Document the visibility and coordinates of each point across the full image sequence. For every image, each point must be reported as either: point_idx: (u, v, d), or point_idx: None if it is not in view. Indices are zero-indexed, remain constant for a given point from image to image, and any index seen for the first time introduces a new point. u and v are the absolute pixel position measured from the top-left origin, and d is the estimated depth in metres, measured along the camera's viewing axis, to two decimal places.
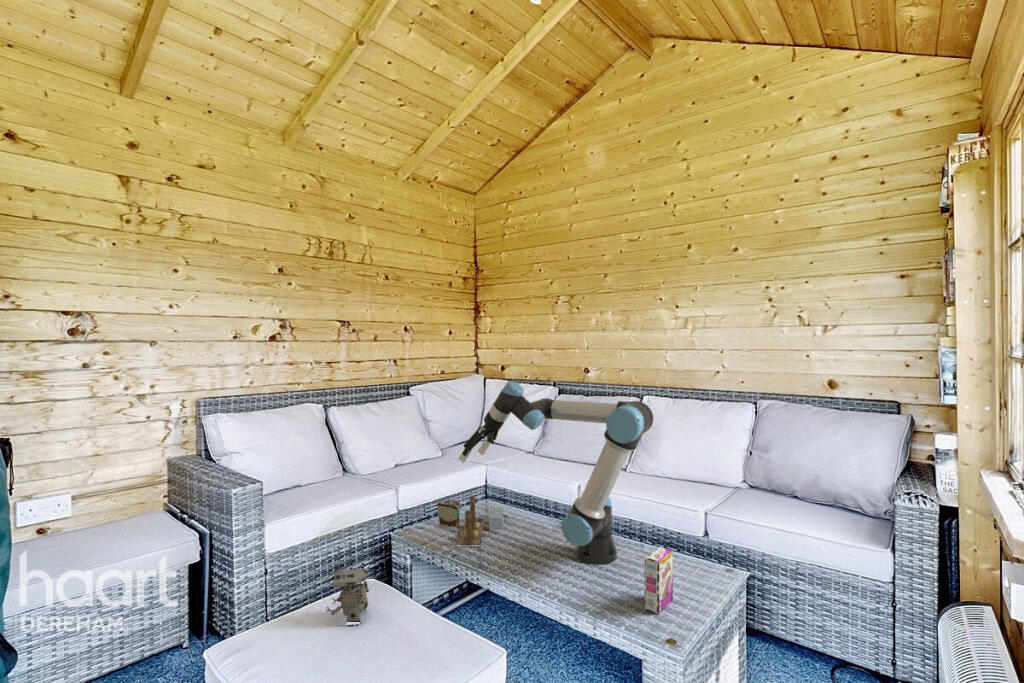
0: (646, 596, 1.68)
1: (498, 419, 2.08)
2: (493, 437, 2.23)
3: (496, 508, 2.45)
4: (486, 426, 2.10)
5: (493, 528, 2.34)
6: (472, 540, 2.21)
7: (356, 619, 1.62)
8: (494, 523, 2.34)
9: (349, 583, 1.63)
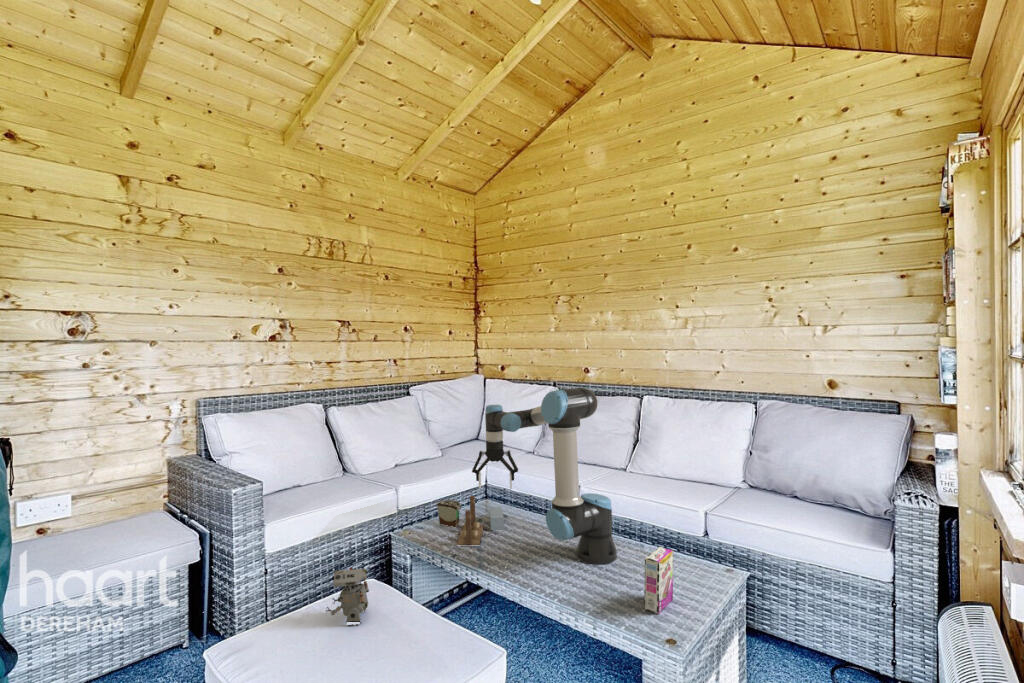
0: (646, 596, 1.68)
1: (487, 438, 2.36)
2: None
3: (495, 508, 2.45)
4: (486, 449, 2.39)
5: (495, 528, 2.34)
6: (472, 540, 2.21)
7: (356, 619, 1.62)
8: (496, 522, 2.34)
9: (349, 583, 1.63)
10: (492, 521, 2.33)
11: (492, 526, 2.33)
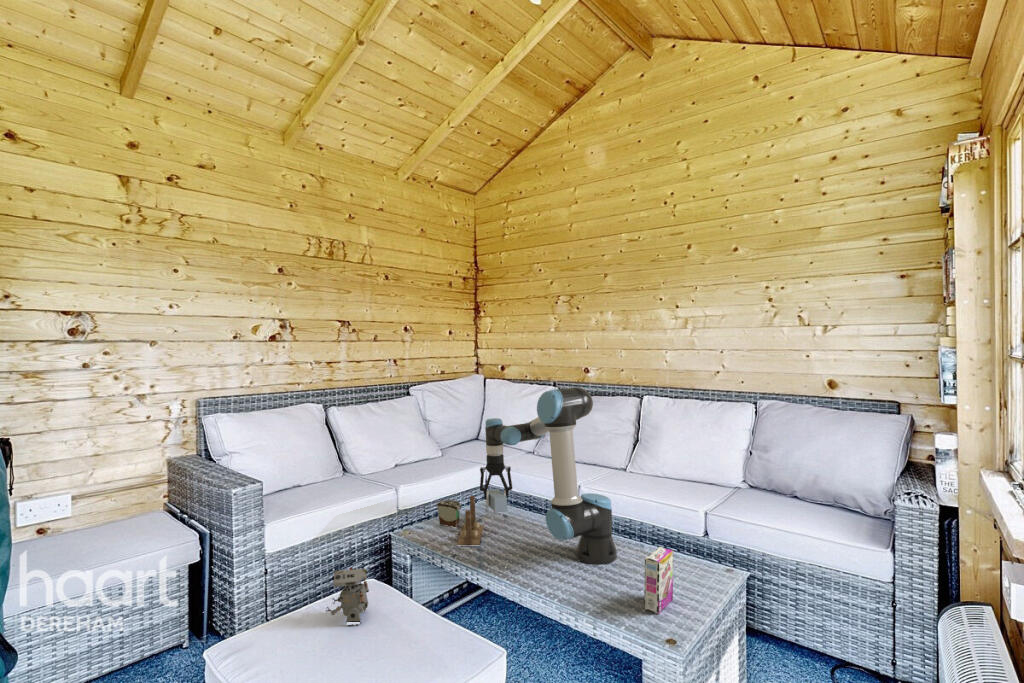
0: (646, 596, 1.68)
1: (487, 452, 2.37)
2: None
3: (492, 490, 2.44)
4: None
5: (498, 508, 2.33)
6: (472, 540, 2.21)
7: (356, 619, 1.62)
8: (500, 503, 2.33)
9: (349, 583, 1.63)
10: (496, 501, 2.33)
11: (496, 507, 2.33)
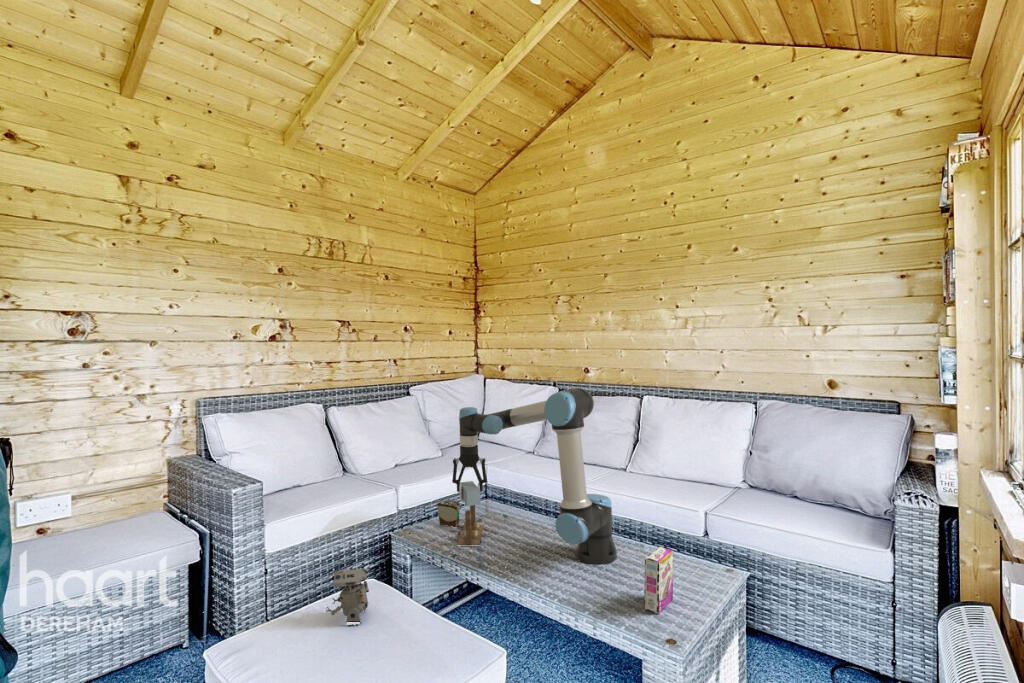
0: (646, 596, 1.68)
1: (461, 443, 2.24)
2: None
3: (466, 482, 2.32)
4: (460, 454, 2.27)
5: (471, 502, 2.21)
6: (472, 540, 2.21)
7: (356, 619, 1.62)
8: (473, 496, 2.21)
9: (349, 583, 1.63)
10: (468, 495, 2.21)
11: (468, 500, 2.21)
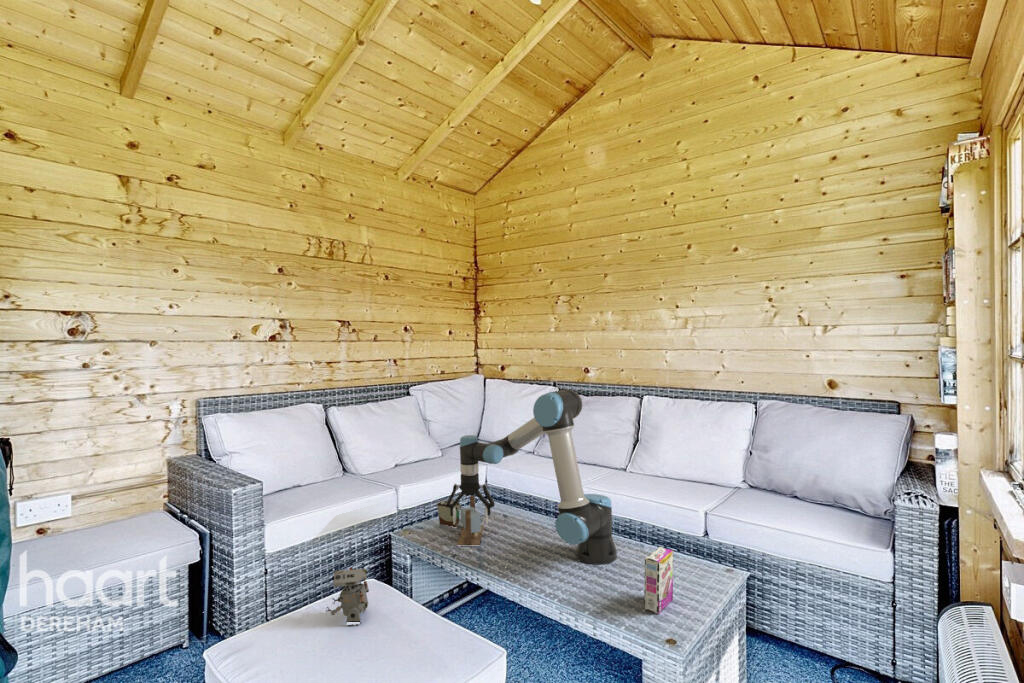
0: (646, 596, 1.68)
1: (462, 472, 2.25)
2: None
3: (467, 508, 2.33)
4: None
5: (472, 529, 2.21)
6: (472, 540, 2.21)
7: (356, 619, 1.62)
8: (473, 523, 2.22)
9: (349, 583, 1.63)
10: None
11: None
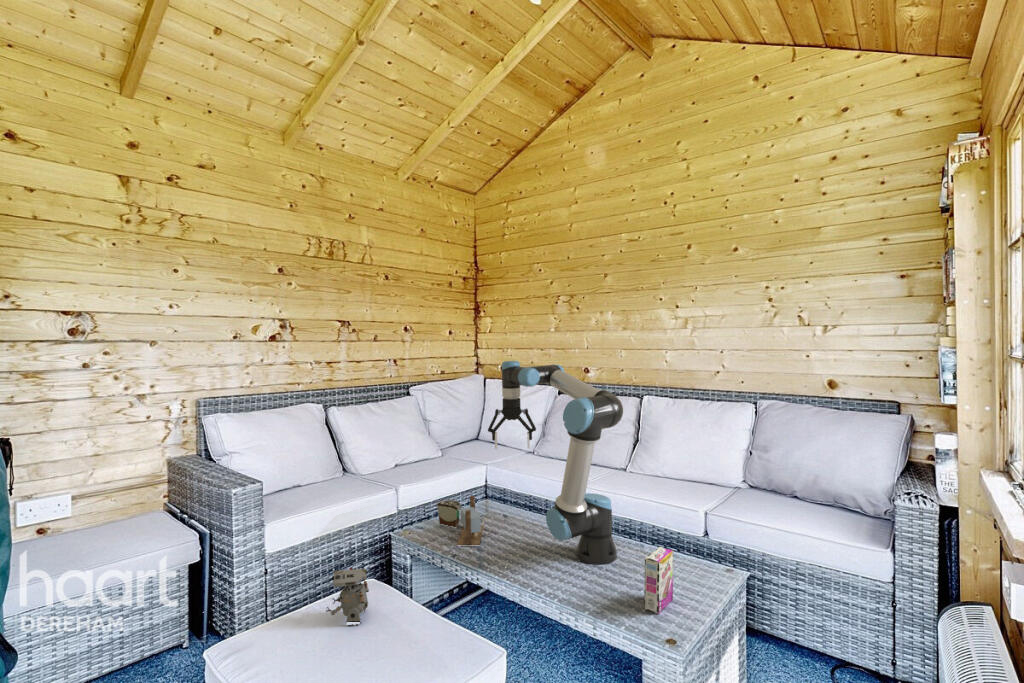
0: (646, 596, 1.68)
1: (504, 396, 2.26)
2: None
3: (467, 508, 2.33)
4: None
5: (472, 529, 2.21)
6: (472, 540, 2.21)
7: (356, 619, 1.62)
8: (473, 523, 2.22)
9: (349, 583, 1.63)
10: None
11: None
